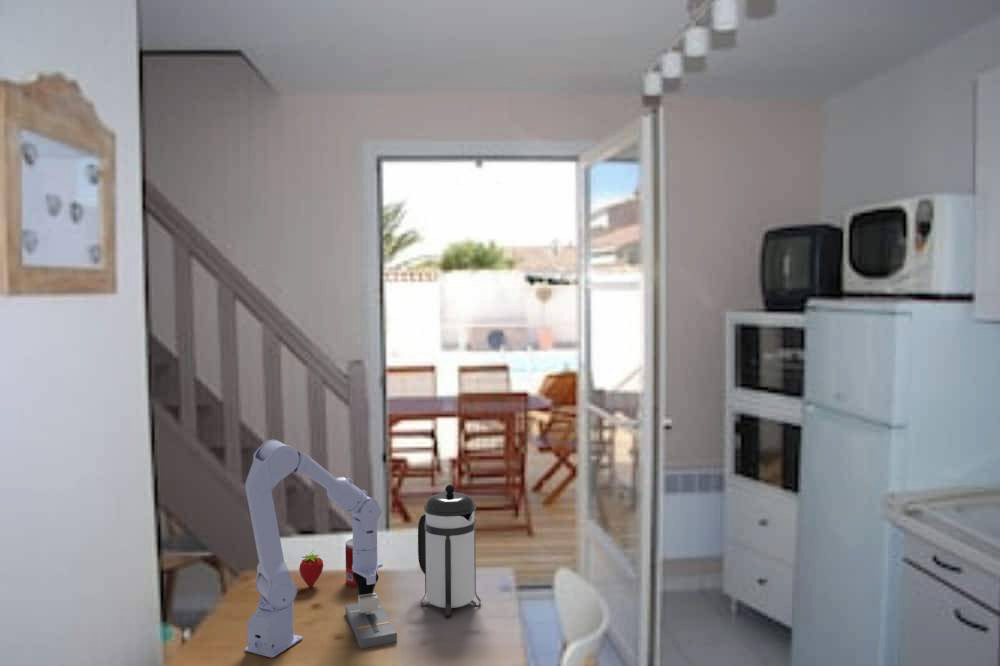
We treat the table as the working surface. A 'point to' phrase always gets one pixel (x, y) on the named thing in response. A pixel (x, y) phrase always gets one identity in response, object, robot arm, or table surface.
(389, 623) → the fader board
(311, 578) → the strawberry
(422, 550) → the coffee press
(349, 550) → the canned food
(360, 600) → the fader knob
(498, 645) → the table surface
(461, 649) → the table surface
